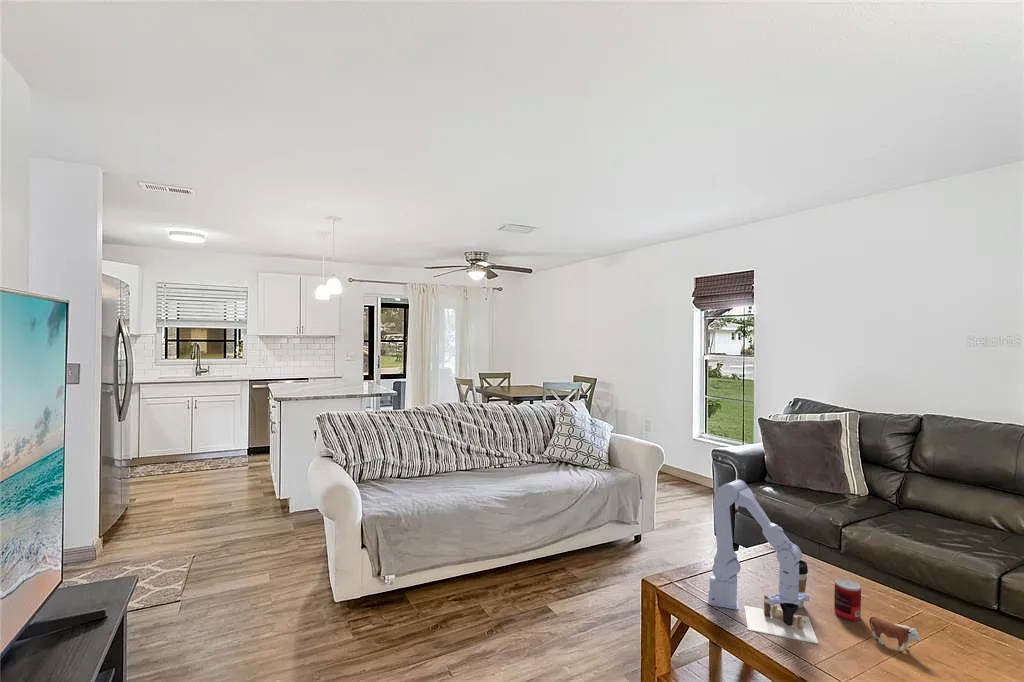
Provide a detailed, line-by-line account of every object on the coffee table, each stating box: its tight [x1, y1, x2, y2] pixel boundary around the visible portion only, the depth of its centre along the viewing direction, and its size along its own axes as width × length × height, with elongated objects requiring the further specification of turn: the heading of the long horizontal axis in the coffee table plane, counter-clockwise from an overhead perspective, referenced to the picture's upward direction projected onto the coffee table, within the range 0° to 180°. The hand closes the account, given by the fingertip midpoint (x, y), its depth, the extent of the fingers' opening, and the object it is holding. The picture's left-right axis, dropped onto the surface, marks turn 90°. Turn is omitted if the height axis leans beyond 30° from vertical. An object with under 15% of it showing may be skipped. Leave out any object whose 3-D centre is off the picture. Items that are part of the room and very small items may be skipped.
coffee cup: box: [797, 559, 809, 609], centre depth 184 cm, size 8×8×15 cm
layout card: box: [743, 605, 819, 645], centre depth 170 cm, size 20×16×1 cm
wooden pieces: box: [763, 594, 772, 617], centre depth 177 cm, size 2×6×5 cm, turn 159°
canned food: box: [833, 578, 862, 622], centre depth 176 cm, size 8×8×11 cm
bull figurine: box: [868, 616, 922, 652], centre depth 158 cm, size 4×13×8 cm, turn 36°
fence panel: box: [771, 604, 804, 630], centre depth 170 cm, size 10×1×4 cm, turn 36°
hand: (787, 624), depth 168 cm, fingers closed
